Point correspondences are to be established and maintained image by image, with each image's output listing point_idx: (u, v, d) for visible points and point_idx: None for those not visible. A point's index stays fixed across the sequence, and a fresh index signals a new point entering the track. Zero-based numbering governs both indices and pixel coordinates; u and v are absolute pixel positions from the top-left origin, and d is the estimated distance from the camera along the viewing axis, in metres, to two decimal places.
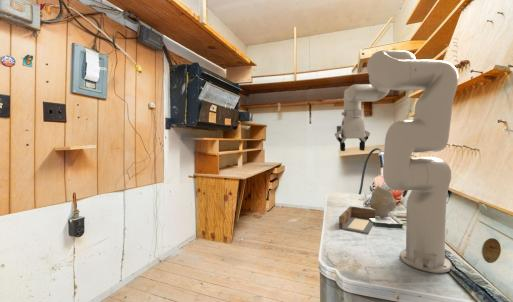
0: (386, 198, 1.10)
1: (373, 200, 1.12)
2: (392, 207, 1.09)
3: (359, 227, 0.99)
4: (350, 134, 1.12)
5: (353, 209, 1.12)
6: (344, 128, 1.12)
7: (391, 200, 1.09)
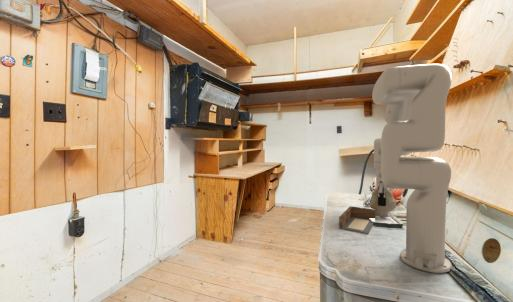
0: (386, 198, 1.10)
1: (373, 200, 1.12)
2: (392, 207, 1.09)
3: (359, 227, 0.99)
4: None
5: (353, 209, 1.12)
6: None
7: (391, 200, 1.09)
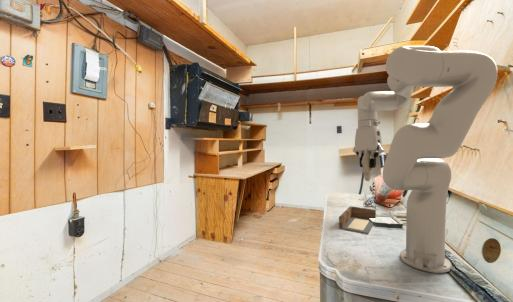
0: None
1: (366, 163, 1.01)
2: None
3: (359, 227, 0.99)
4: None
5: (353, 209, 1.12)
6: (380, 139, 1.00)
7: None
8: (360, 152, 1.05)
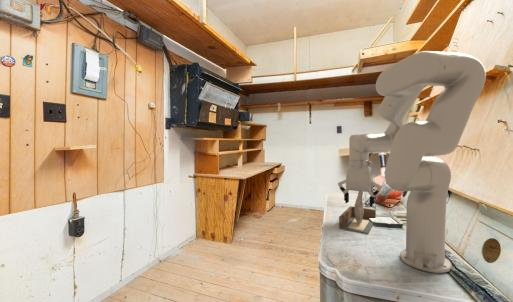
0: None
1: (361, 208, 0.98)
2: None
3: (359, 227, 0.99)
4: None
5: (353, 209, 1.12)
6: (372, 179, 1.00)
7: None
8: (347, 189, 1.03)
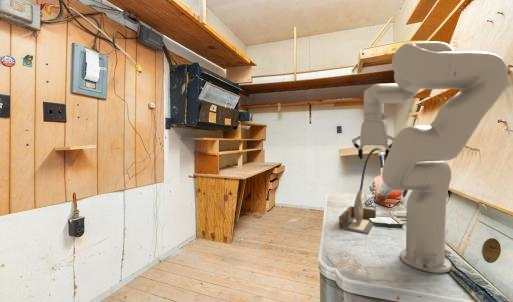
0: None
1: (360, 207, 0.98)
2: None
3: (359, 227, 0.99)
4: None
5: (353, 209, 1.12)
6: None
7: None
8: (362, 145, 1.02)
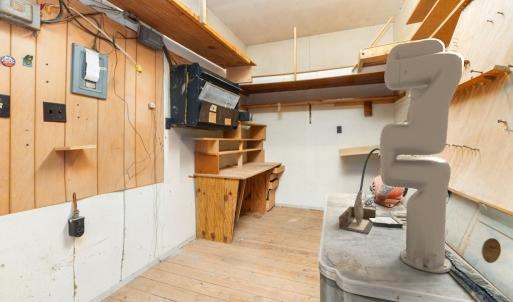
0: None
1: (360, 208, 0.98)
2: None
3: (359, 227, 0.99)
4: None
5: (353, 209, 1.12)
6: None
7: None
8: None
